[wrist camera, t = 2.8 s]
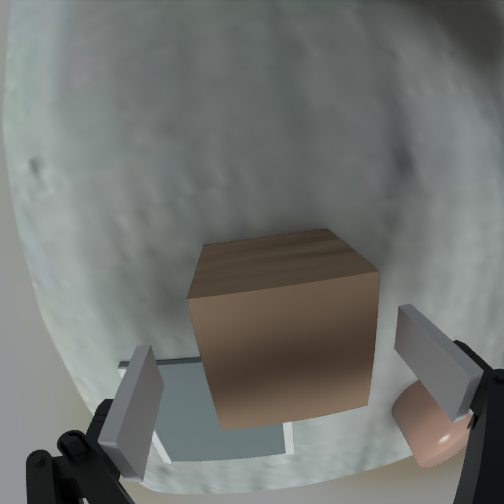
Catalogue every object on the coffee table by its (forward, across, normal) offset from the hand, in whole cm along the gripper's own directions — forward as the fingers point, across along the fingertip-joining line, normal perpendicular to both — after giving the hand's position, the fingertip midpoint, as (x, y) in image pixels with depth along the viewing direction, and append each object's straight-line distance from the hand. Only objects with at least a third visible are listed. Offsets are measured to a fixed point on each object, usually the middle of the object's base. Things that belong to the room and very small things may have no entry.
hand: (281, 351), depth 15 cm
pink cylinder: (+6, +14, -15) cm, 21 cm away
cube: (+6, 0, 0) cm, 6 cm away
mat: (+6, -6, -11) cm, 14 cm away
